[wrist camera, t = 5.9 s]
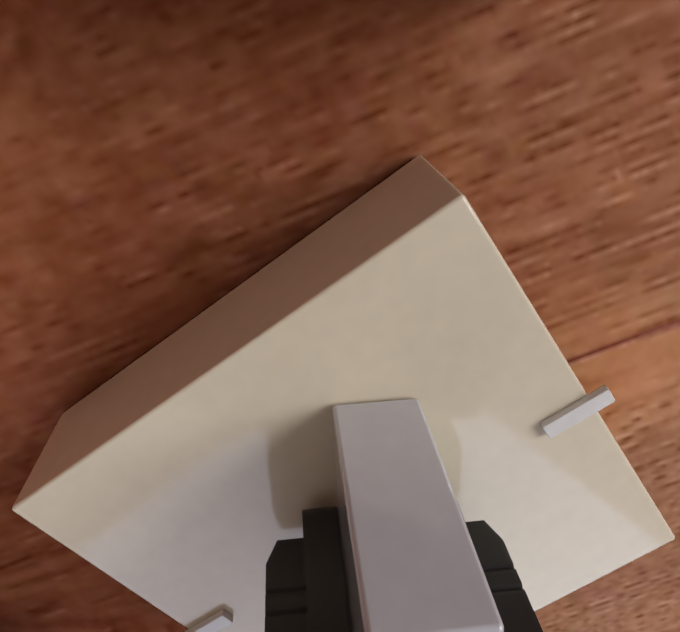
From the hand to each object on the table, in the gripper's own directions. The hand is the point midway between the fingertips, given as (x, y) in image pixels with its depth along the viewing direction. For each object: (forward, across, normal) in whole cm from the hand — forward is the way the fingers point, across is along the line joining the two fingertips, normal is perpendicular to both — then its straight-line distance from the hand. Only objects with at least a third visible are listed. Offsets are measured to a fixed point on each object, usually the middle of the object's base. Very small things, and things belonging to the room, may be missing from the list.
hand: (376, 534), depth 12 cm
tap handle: (0, 0, 0) cm, 0 cm away
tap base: (+3, 0, 0) cm, 3 cm away
